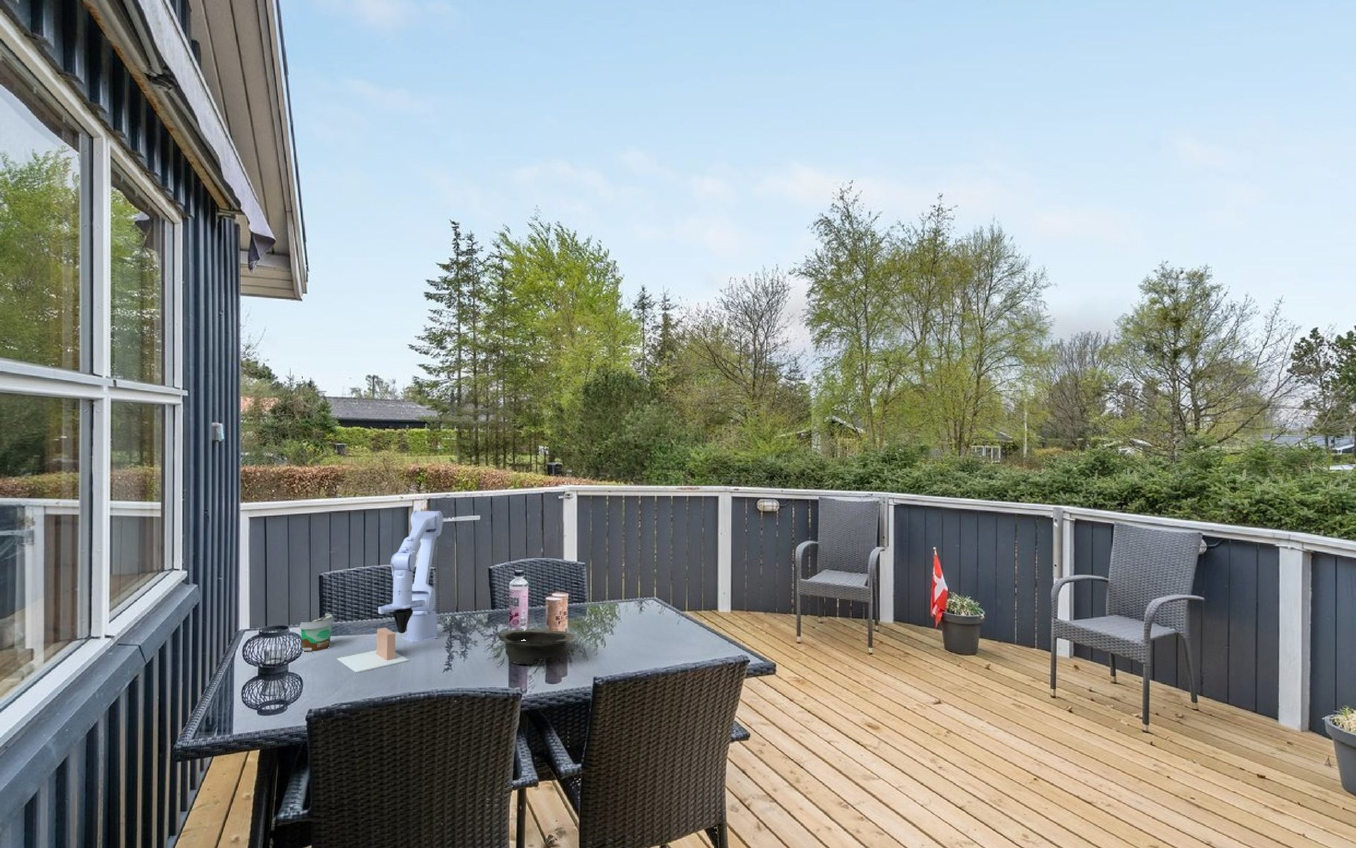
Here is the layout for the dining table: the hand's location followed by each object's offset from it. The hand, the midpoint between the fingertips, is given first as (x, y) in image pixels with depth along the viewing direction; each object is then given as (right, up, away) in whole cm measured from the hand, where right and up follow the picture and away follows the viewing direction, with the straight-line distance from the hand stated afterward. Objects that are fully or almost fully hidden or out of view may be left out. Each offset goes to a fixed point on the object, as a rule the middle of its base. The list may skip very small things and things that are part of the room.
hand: (401, 632), depth 221 cm
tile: (-4, -7, -4) cm, 8 cm away
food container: (-28, -7, +4) cm, 29 cm away
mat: (-6, -7, -6) cm, 11 cm away
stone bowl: (+43, -8, +1) cm, 44 cm away
